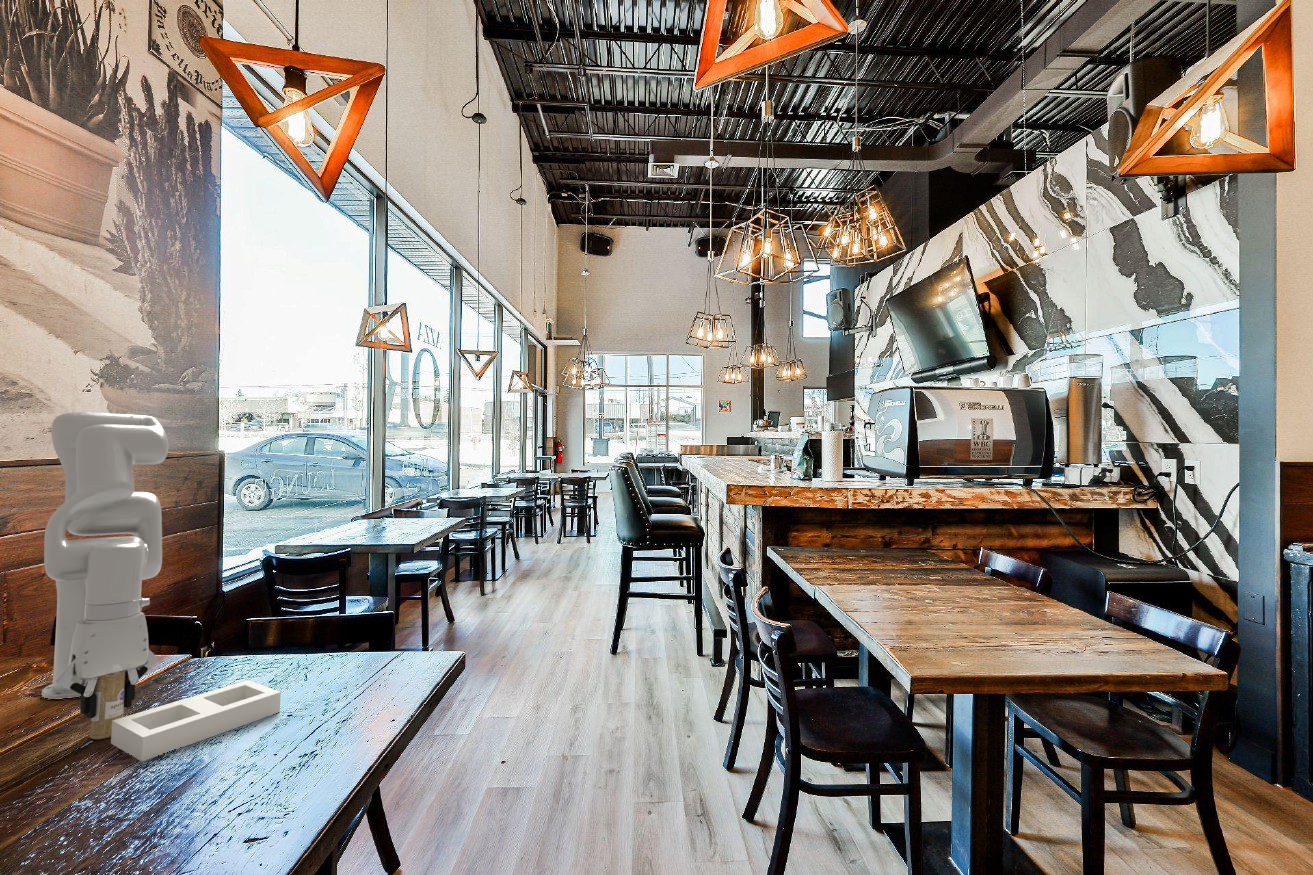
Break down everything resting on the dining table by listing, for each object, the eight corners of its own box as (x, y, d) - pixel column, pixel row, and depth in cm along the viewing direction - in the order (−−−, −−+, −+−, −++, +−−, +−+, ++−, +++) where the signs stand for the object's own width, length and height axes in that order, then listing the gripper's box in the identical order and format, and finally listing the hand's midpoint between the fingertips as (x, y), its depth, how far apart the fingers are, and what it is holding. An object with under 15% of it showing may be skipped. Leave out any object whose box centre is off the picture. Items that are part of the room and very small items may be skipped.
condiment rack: (110, 743, 102) (112, 720, 102) (247, 699, 122) (248, 680, 122) (141, 761, 97) (143, 737, 97) (279, 712, 116) (280, 692, 116)
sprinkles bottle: (120, 736, 105) (124, 661, 105) (85, 742, 102) (90, 665, 103) (125, 726, 109) (129, 654, 109) (92, 732, 106) (96, 658, 107)
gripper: (160, 598, 116) (155, 691, 115) (41, 617, 101) (34, 724, 100) (178, 603, 112) (173, 699, 111) (57, 624, 97) (51, 735, 97)
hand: (107, 710), depth 106 cm, fingers closed on sprinkles bottle, 4 cm apart
